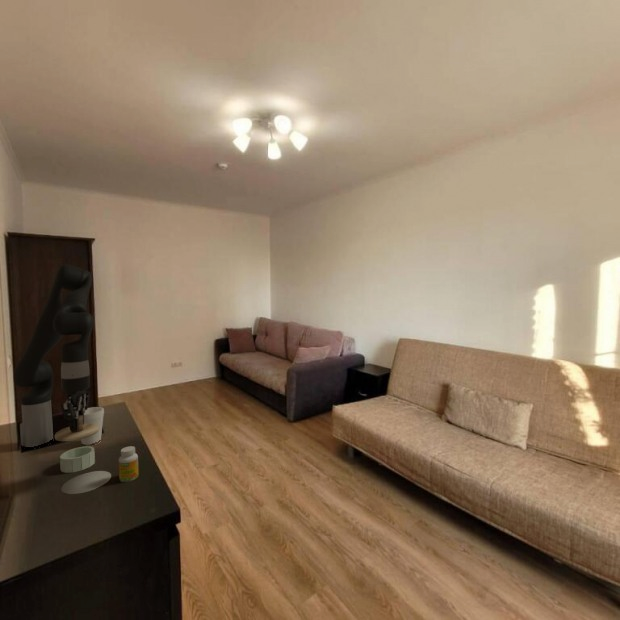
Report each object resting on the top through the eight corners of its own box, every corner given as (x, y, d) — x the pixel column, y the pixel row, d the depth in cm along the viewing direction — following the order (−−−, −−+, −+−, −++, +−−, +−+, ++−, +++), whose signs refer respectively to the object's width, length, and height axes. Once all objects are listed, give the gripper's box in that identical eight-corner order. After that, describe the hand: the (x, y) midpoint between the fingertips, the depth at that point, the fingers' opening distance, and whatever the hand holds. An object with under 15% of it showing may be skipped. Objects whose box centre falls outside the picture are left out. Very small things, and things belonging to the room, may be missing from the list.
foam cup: (103, 436, 142) (102, 405, 142) (106, 443, 135) (105, 411, 135) (76, 442, 137) (74, 410, 136) (78, 450, 129) (76, 416, 129)
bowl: (53, 474, 111) (53, 459, 111) (73, 460, 121) (73, 446, 121) (83, 473, 111) (82, 458, 111) (100, 459, 121) (100, 446, 121)
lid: (45, 441, 103) (44, 423, 103) (72, 426, 115) (71, 410, 114) (83, 441, 103) (82, 423, 103) (106, 426, 115) (105, 410, 114)
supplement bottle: (119, 485, 104) (117, 454, 103) (119, 477, 109) (118, 447, 108) (138, 480, 106) (137, 450, 106) (138, 472, 111) (137, 443, 111)
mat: (50, 496, 99) (50, 494, 99) (79, 473, 112) (79, 471, 112) (95, 495, 99) (95, 493, 99) (119, 472, 112) (119, 470, 112)
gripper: (77, 379, 102) (79, 436, 102) (98, 369, 116) (99, 419, 116) (49, 380, 100) (51, 437, 101) (74, 370, 114) (75, 420, 115)
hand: (77, 427), depth 109 cm, fingers closed on lid, 3 cm apart
